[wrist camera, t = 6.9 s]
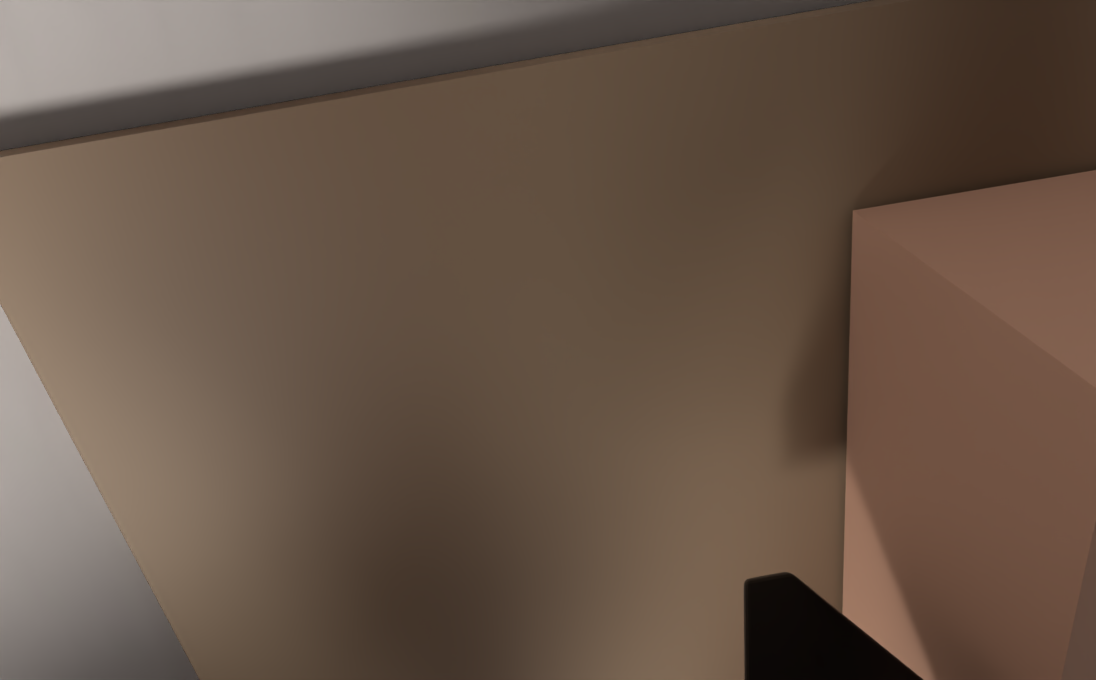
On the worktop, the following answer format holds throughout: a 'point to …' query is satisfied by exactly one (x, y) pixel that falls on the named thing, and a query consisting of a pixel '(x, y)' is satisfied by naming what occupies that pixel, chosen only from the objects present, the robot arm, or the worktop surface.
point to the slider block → (975, 431)
